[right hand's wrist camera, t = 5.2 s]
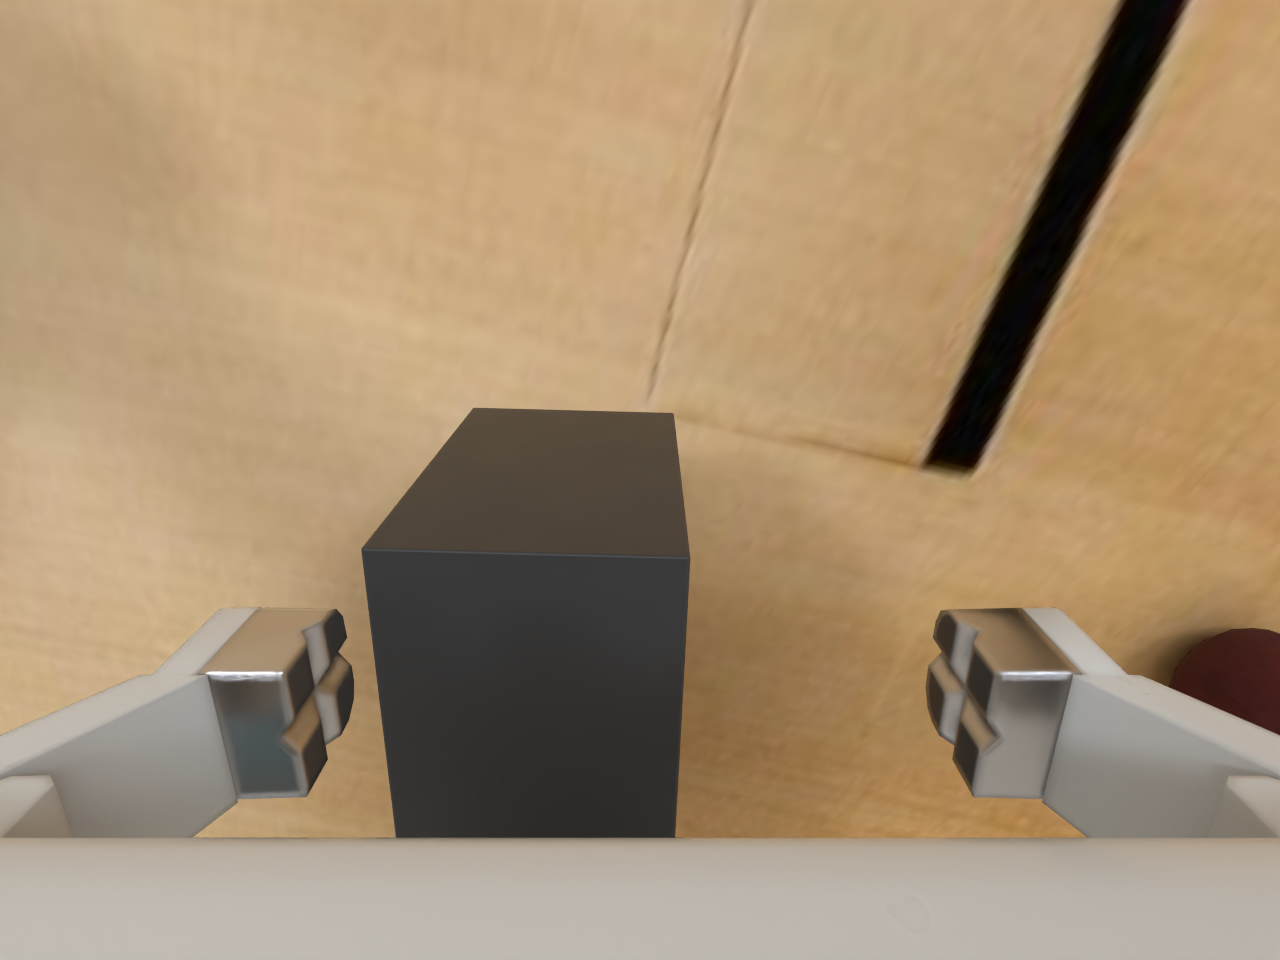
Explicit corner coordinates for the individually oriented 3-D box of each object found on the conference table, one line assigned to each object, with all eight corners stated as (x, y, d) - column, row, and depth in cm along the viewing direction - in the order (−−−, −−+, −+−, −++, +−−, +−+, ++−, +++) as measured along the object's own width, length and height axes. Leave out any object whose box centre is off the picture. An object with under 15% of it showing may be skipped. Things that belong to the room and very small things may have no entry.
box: (473, 407, 24) (360, 548, 15) (673, 412, 24) (690, 557, 15) (504, 960, 33) (446, 1268, 24) (650, 964, 33) (651, 1274, 24)
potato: (1135, 743, 39) (1233, 855, 33) (1130, 618, 37) (1235, 712, 30) (1283, 715, 39) (1414, 823, 32) (1290, 585, 36) (1434, 674, 29)
